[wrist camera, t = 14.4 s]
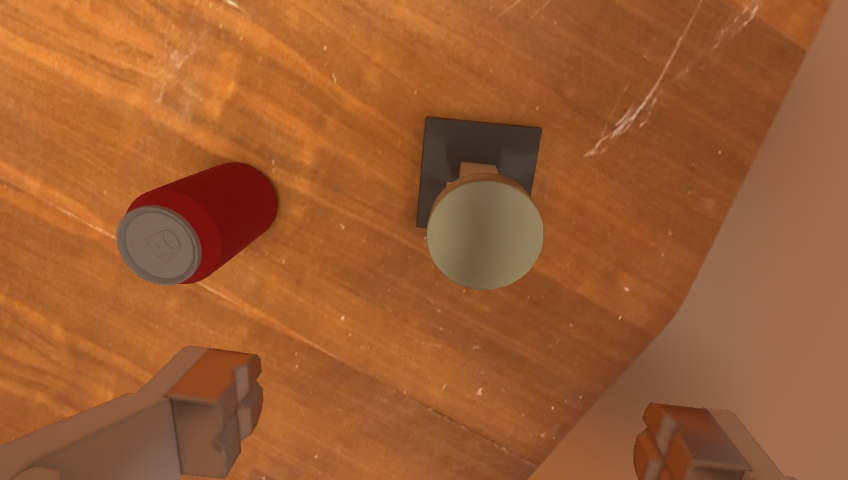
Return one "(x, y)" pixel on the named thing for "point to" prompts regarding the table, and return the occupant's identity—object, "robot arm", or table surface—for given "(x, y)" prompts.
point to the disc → (484, 231)
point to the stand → (473, 155)
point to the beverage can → (195, 223)
